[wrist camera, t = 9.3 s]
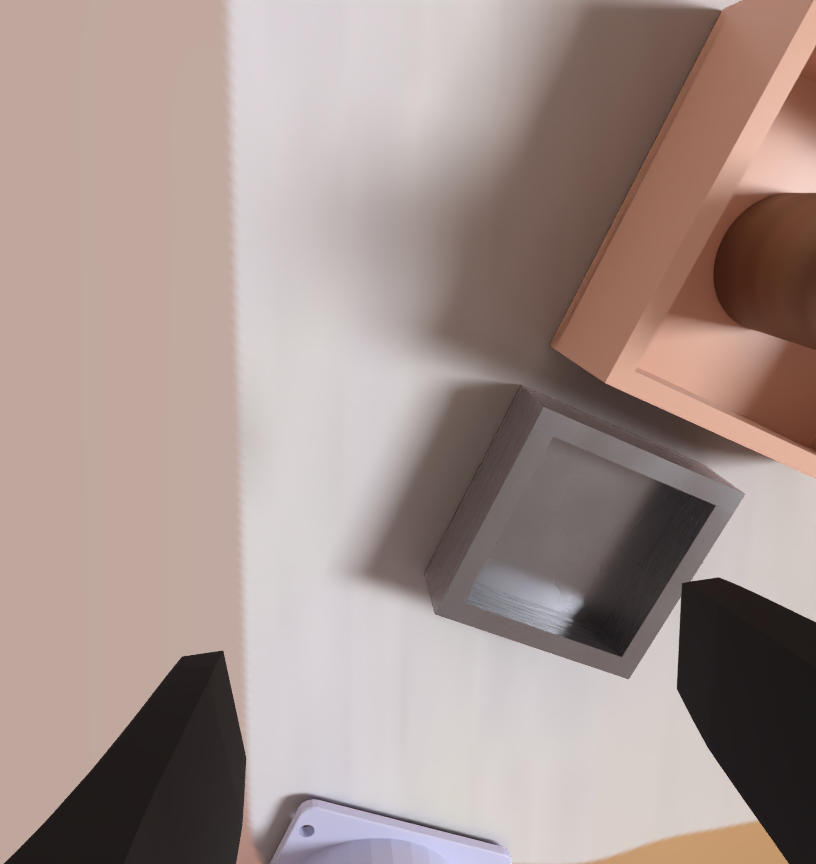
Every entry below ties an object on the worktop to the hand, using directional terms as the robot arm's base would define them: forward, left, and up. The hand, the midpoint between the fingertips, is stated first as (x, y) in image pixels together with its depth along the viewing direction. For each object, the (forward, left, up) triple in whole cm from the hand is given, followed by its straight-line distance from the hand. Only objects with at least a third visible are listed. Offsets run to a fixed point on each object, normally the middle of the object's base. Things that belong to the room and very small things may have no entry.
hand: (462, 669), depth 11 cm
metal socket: (0, -6, -9) cm, 11 cm away
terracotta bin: (+9, -7, -9) cm, 15 cm away
